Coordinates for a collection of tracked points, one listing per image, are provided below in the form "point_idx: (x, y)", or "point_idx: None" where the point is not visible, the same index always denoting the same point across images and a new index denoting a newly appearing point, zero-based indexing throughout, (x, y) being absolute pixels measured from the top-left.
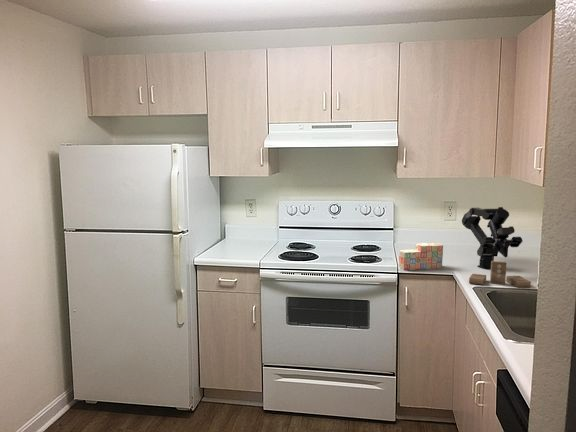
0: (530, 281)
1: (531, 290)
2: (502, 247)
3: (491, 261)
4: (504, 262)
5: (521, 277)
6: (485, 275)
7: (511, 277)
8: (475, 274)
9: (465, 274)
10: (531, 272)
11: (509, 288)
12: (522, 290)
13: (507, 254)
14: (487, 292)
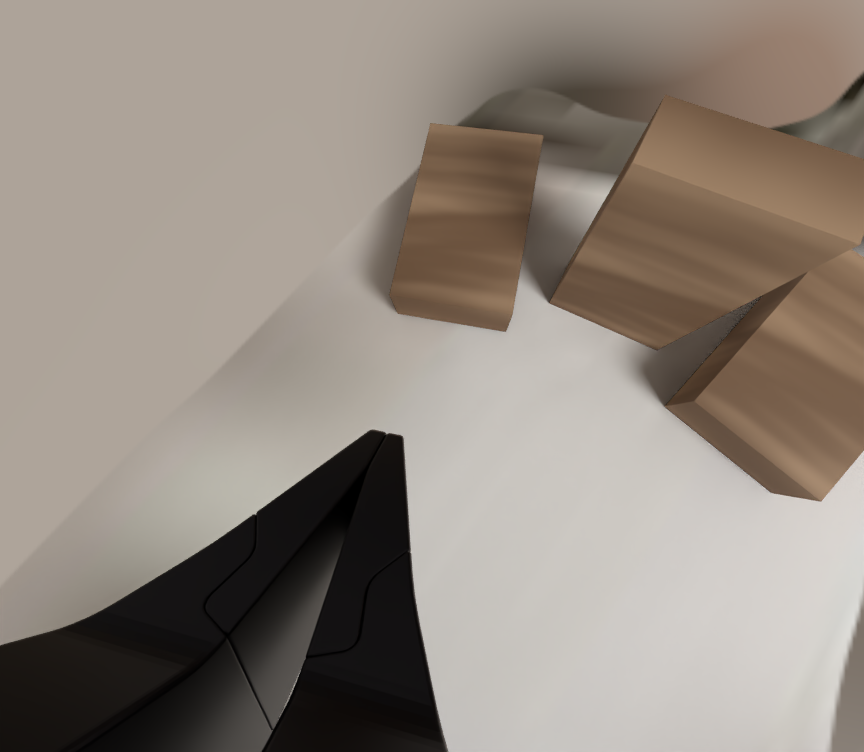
0: (432, 125)
1: (480, 105)
2: (366, 627)
3: (858, 234)
4: (684, 117)
5: (415, 237)
6: (714, 386)
7: (505, 254)
8: (810, 450)
9: (766, 677)
10: (65, 541)
11: (605, 168)
12: (542, 114)
13: (351, 446)
14: (839, 114)
